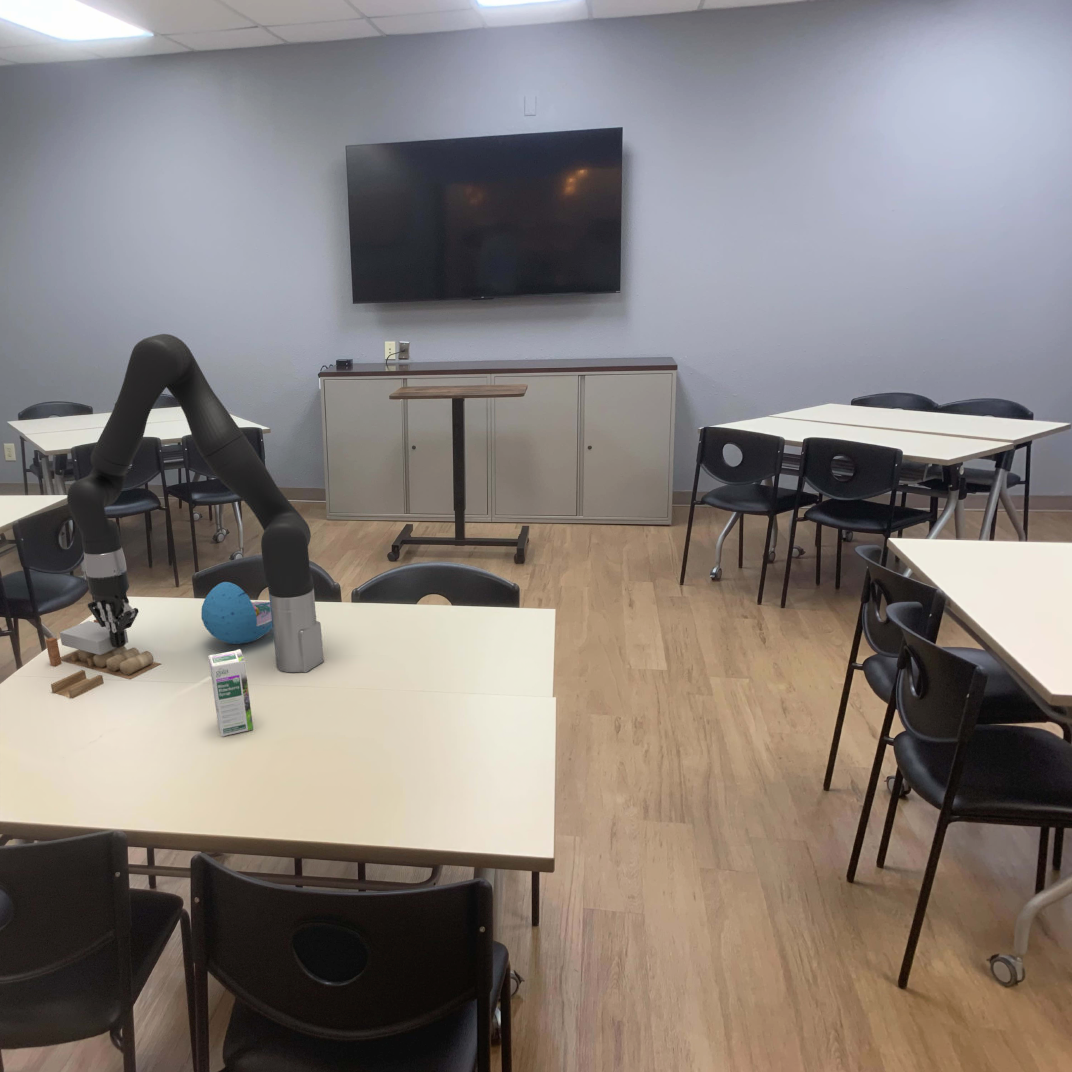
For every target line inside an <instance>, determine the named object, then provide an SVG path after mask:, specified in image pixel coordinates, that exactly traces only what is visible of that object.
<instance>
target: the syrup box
mask: <svg viewBox="0 0 1072 1072" xmlns="http://www.w3.org/2000/svg"><path fill="white" fill-rule="evenodd" d="M208 663H209V664H208V665H209V669H210V671H209V672H210V677H211V683H212V684H211V686H212V691H213V699H214V704H215V705H214V706H215V713H216V719H217V720H216V721H217V725H218V728H219V729H218V730H219V733H220V736H221V737H222V738H224V737H226V736H230V735H235V734H240V733H243V732H247V731H249V732H250V731H252V730H254V723H253V716H252V709H251V701H250V692H249V684H248V677H247V676H248V675H247V667H246V661H245V658H244V655H243V653H242V650H241V649H240V648H239V649H236V650H233V651H227V652H221V653H217V654H209V655H208Z"/></svg>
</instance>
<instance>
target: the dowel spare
mask: <svg viewBox="0 0 1072 1072" xmlns="http://www.w3.org/2000/svg"><path fill="white" fill-rule="evenodd" d="M77 650H78V649H77ZM95 655H97V654H94V653H90V652H87V651H83V650H78V657H79V659H80V660H81V661H82V662H87V659H88V658H90V657H92V656H95Z"/></svg>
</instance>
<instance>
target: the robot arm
mask: <svg viewBox="0 0 1072 1072" xmlns="http://www.w3.org/2000/svg"><path fill="white" fill-rule="evenodd" d="M165 389H167V390H168V391H169V392H170V394H171V396H172V397H173V398H174V399H175V401H176V402H177V403H178V405H179V406H180V408H181V411H182V412H183V414H184V416H185V419H186V422H187V425H188V427H189V430H190V431H189V432H190V433H191V437H192V439H193V442H194V444H195V447H196V449H197V451H198V453H199V455H200V456H201V458H202V459H203V460H204V461H205V463H206V464H207V465H208V467H209V469H210V470H211V471H212V473H213V474H214V475H215V476H216V478H217V479H218V480H219V481H220V482H221V483H222V484H223V485H224V486H225V487H227V489H229V490H230V491H231V492H233V493H234V494H235V495H236V496H237V497H238V498H240V499H241V500H242V501H243V502H244V503H245V504H246V505H247V506H248V507H249V509H250V510H251V512H252V513H253V514H254V516H255V518H256V519H257V520H258V522H259V524H260V526H261V527H262V530H263V534H262V536H261V541H260V544H261V545H260V546H261V547H260V548H261V556H262V557H261V558H262V565H263V571H264V572H263V573H264V580H265V582H266V584H267V588H268V596H269V597H268V598H269V602H270V609H271V619H272V628H271V629H272V636H273V646H274V654H275V655H274V656H275V664H276V668H277V669H278V670H280V671H281V672H287V673H298V672H299V673H300V672H301V673H302V672H303V673H308V672H309V671H310V670H312V669H314V668H315V667H317V666H318V665H320V664H322V663H323V662H324V661H325V660H324V651H323V649H324V648H323V638H322V637H323V636H322V625H321V622H320V621H317V611H316V599H315V598H316V597H315V589H314V578H313V575H312V573H311V567H310V557H309V555H310V554H309V545H310V542H311V538H312V537H311V535H312V533H311V528H310V526H309V524H308V522H307V521H306V520H305V519H304V517H303V516H302V515H301V514H300V513H299V512H298V510H297V509H296V507H294V506H293V505H292V503H291V501H289V500H288V498H287V497H286V496H285V495H284V494H283V492H282V491H281V490H280V489H279V487H278V485H277V484H276V482H275V480H274V478H272V475H271V474H270V472H269V471H268V470H269V469H268V468H267V467H266V466H265V464H264V462H263V461H262V459H261V458H260V457H259V455H258V454H257V452H256V450H255V448H254V447H253V445H252V444H251V442H249V440H248V438H247V436H246V435H245V434H244V432H243V431H242V429H241V428H240V427H239V425H237V423H236V421H235V420H234V418H233V417H232V416H231V414H230V412H229V411H228V410H227V409H226V407H225V406H224V404H223V403H222V401H221V400H220V399H219V397H217V395H216V393H215V392H214V390H213V389H212V387H211V385H210V383H209V382H208V381H207V379H206V377H205V375H204V373H203V372H202V370H201V367H200V366H199V364H198V362H197V360H196V358H195V356H194V355H193V353H192V352H191V350H190V348H189V347H188V346H187V344H186V343H185V342H184V340H181V339H180V338H179V337H177V336H175V335H173V334H168V333H161V334H155V335H153V336H149V337H146V338H143V339H142V340H140V341H138V342H137V343H136V344H134V347H133V348H132V351H131V353H130V357H129V360H128V364H127V367H126V370H125V375H124V379H123V383H122V385H121V389H120V391H119V394H118V397H117V399H116V403H115V404H114V407H113V409H112V411H111V414H110V416H109V418H108V419H107V422H106V425H105V426H104V428H103V430H102V432H101V434H100V436H99V438H98V439H97V442H96V444H95V446H94V448H93V450H92V451H91V455H90V463H91V465H92V466H93V467H92V469H91V471H90V473H89V474H88V475H87V476H86V477H83V478H80V479H78V480H76V481H74V482H72V483H71V484H70V486H69V488H68V490H67V496H66V500H67V501H66V502H67V506H68V508H69V511H70V514H71V516H72V518H73V520H74V523H75V525H76V527H77V528H78V530H79V532H80V536H81V543H82V550H83V558H84V559H83V562H84V563H83V564H84V569H85V570H84V571H85V574H86V579H87V587H88V592H89V594H90V595H91V596H93V599H94V600H93V601H92V602H88V603H87V608H88V609H89V611H90V612H91V614H92V615H93V617H94V618H95V620H97V621H98V623H99V624H100V626H101V627H106V629H107V631H109V634H110V640H111V643H112V647H115V648H120V647H122V646H126V644H127V643H126V640H125V634H124V630H127V629H130V628H131V627H132V625H133V624H134V623H135V622H134V621H135V620H136V618H137V616H138V614H139V609H138V608H137V607H134V608H133V607H131V605H130V599H129V598H128V596H127V593H128V592H127V591H128V590H129V589H130V583H129V582H130V581H129V574H128V570H127V569H128V568H127V562H126V557H125V552H124V550H123V545H122V540H121V539H122V538H121V533H120V528H119V525H118V523H117V522H116V521H114V520H113V519H108V517H107V513H106V510H105V508H108V507H109V506H111V505H113V503H115V502H116V501H117V500H118V498H119V496H120V495H121V493H122V491H123V488H124V485H125V481H126V478H127V474H128V473H127V472H128V469H129V468H130V466H131V463H132V462H133V459H134V458H135V456H136V454H137V452H138V451H139V448H140V446H141V444H142V441H143V438H144V435H145V431H146V427H147V423H148V422H147V421H148V418H149V416H150V413H151V411H152V409H153V407H154V405H155V403H156V402H157V400H158V399H159V398H160V396H161V395H162V393H164V391H165ZM125 643H126V644H125Z"/></svg>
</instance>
